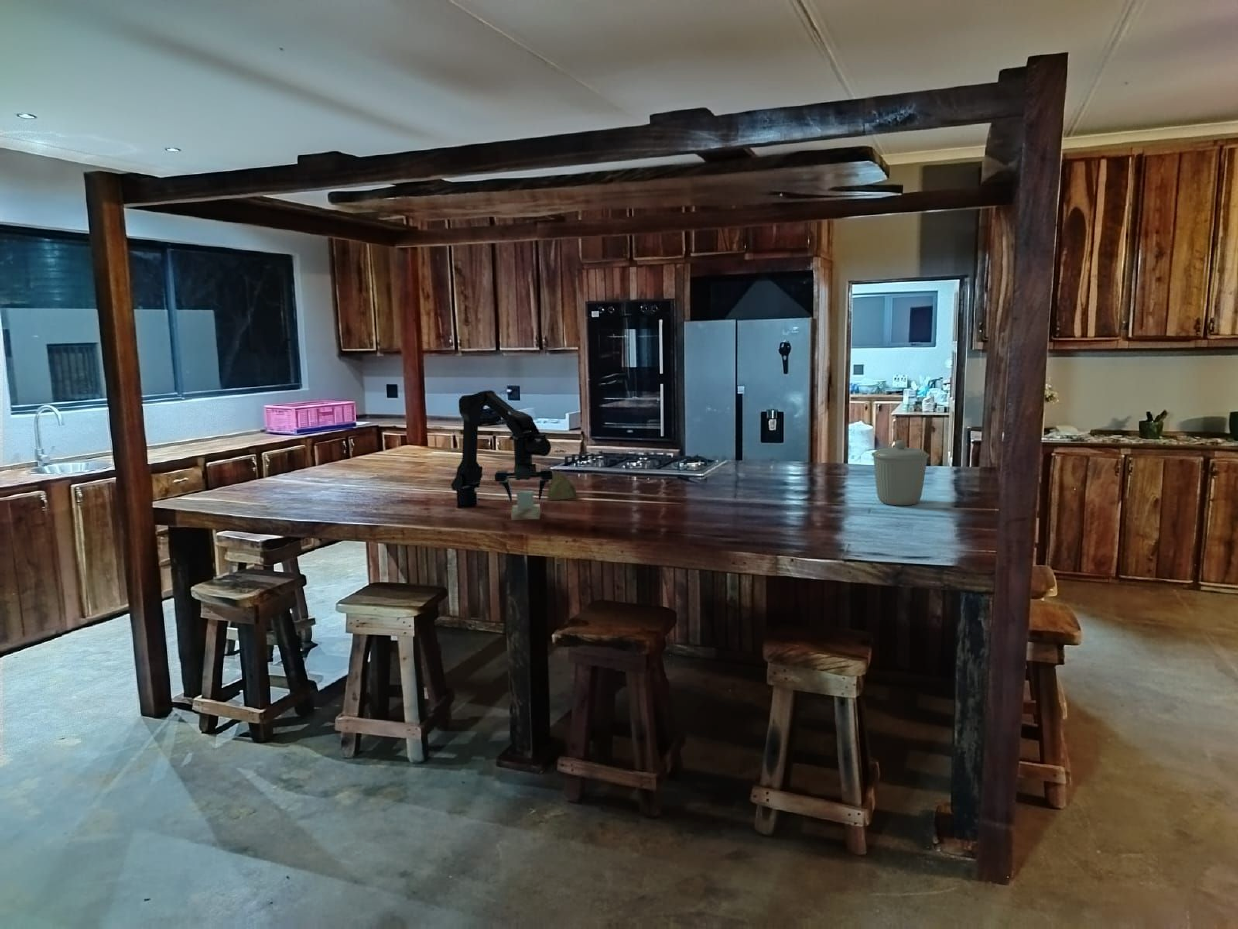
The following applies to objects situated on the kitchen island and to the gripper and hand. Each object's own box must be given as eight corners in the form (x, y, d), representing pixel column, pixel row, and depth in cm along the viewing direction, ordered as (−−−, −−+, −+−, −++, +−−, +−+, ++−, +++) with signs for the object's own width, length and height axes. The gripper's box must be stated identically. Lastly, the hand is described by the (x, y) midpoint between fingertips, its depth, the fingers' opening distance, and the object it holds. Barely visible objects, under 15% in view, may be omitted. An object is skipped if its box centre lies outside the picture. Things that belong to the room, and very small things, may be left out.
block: (517, 509, 263) (516, 494, 263) (518, 506, 268) (517, 491, 268) (532, 508, 264) (532, 493, 263) (533, 505, 269) (532, 490, 268)
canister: (932, 509, 259) (934, 443, 256) (873, 508, 263) (874, 443, 259) (923, 497, 276) (924, 436, 273) (867, 497, 280) (869, 436, 277)
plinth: (511, 520, 262) (511, 510, 261) (513, 514, 271) (513, 505, 270) (539, 518, 262) (539, 509, 262) (540, 512, 271) (540, 504, 271)
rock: (583, 489, 297) (559, 484, 301) (579, 474, 291) (554, 469, 295) (571, 511, 291) (547, 506, 295) (566, 496, 285) (541, 491, 289)
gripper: (491, 458, 255) (494, 507, 257) (551, 456, 256) (553, 504, 258) (495, 453, 266) (497, 500, 268) (551, 451, 267) (554, 497, 269)
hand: (525, 500), depth 266 cm, fingers open, 9 cm apart
